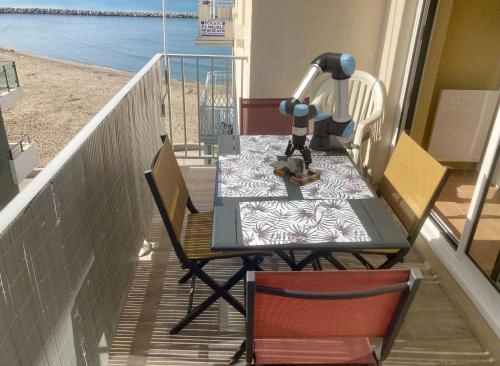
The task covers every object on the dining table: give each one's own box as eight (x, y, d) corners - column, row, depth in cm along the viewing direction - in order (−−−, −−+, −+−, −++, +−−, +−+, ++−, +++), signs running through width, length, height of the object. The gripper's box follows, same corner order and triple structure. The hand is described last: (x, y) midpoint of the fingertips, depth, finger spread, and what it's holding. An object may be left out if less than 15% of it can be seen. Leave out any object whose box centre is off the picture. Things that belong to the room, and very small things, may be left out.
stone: (306, 155, 229) (288, 154, 230) (306, 171, 225) (287, 170, 226) (305, 163, 238) (287, 162, 239) (304, 179, 234) (286, 178, 235)
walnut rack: (293, 167, 245) (293, 163, 244) (320, 179, 231) (320, 174, 230) (273, 174, 236) (273, 169, 235) (300, 186, 221) (300, 181, 220)
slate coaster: (282, 161, 255) (282, 160, 255) (294, 166, 247) (294, 165, 247) (268, 165, 249) (268, 164, 248) (281, 170, 241) (281, 169, 241)
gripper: (279, 129, 229) (277, 166, 238) (311, 140, 213) (308, 179, 222) (288, 127, 233) (287, 163, 243) (321, 137, 217) (317, 175, 226)
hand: (297, 170), depth 232 cm, fingers closed on stone, 11 cm apart
